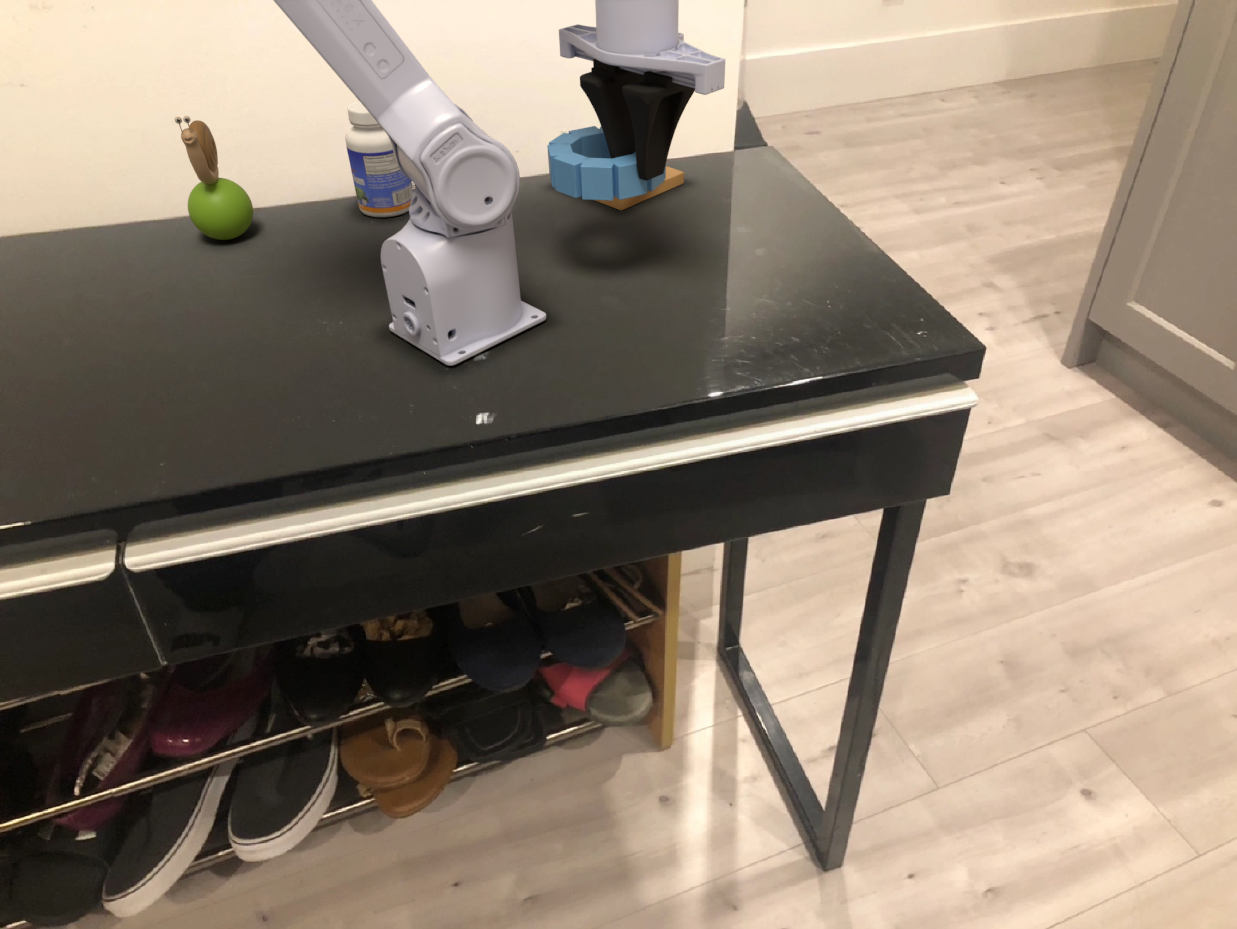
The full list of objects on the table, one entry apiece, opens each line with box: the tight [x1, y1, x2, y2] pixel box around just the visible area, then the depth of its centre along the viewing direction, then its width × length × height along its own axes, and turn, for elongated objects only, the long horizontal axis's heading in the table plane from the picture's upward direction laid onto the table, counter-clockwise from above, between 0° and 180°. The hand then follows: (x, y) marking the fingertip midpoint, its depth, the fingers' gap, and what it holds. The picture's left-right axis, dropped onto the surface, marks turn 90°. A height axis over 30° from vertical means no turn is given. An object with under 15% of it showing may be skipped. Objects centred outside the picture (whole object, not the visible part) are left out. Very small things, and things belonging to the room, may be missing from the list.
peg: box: [594, 165, 685, 211], centre depth 90 cm, size 9×9×7 cm
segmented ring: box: [546, 125, 667, 201], centre depth 72 cm, size 9×9×3 cm
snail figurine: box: [174, 115, 254, 241], centre depth 80 cm, size 5×6×12 cm
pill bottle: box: [344, 100, 414, 218], centre depth 86 cm, size 5×5×10 cm
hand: (639, 171), depth 70 cm, fingers closed on segmented ring, 2 cm apart
